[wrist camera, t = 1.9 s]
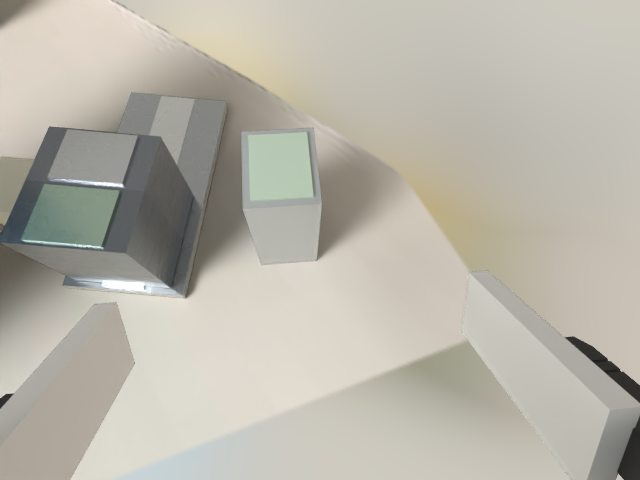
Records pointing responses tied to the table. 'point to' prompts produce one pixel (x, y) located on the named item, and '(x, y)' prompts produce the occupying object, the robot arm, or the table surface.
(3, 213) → the beige small block
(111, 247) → the grey l-shaped block
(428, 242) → the table surface
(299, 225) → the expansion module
